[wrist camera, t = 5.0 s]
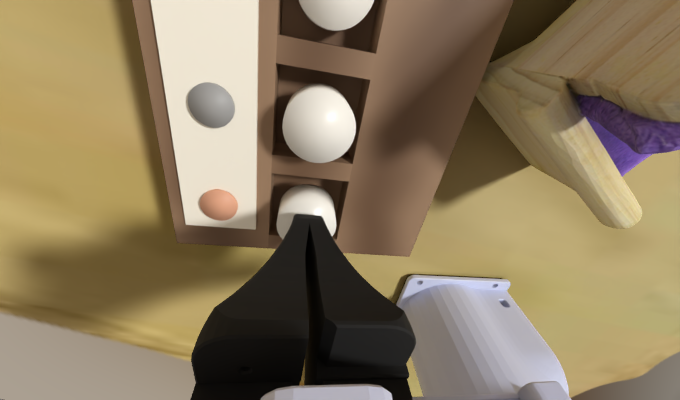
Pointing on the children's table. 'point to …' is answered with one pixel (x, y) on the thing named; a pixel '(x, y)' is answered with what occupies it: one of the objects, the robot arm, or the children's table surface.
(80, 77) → the children's table surface
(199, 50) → the pattern strip
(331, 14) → the button outer
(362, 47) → the button board
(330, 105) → the button middle
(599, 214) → the toy sofa
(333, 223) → the button inner
